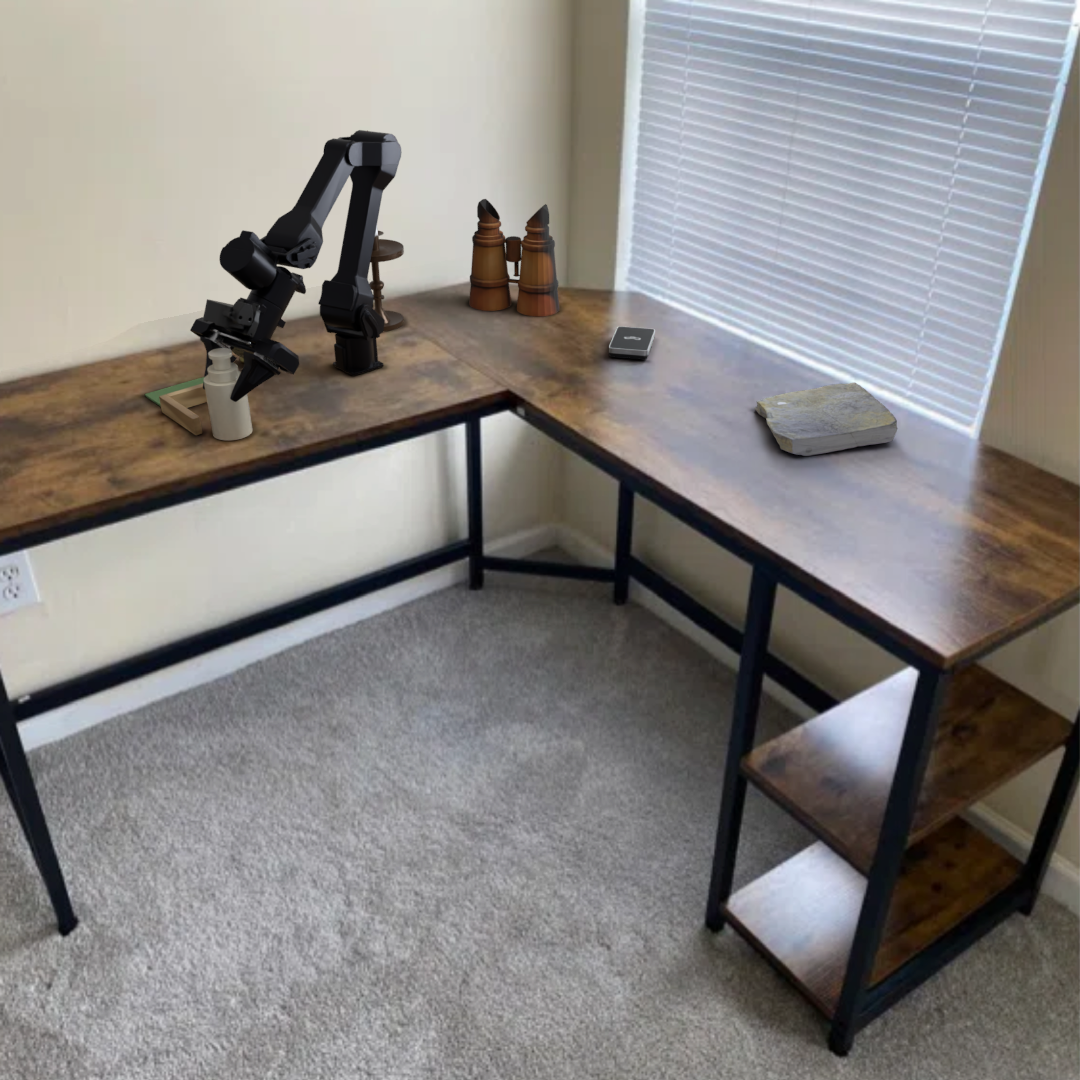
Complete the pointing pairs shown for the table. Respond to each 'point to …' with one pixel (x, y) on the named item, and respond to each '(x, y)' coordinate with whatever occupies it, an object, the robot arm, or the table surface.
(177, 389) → the green cloth
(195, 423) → the corner rails
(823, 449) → the grey stone slab
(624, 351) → the external hard drive
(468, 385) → the table surface
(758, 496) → the table surface
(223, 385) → the lidded jar
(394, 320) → the candlestick
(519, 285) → the binoculars
